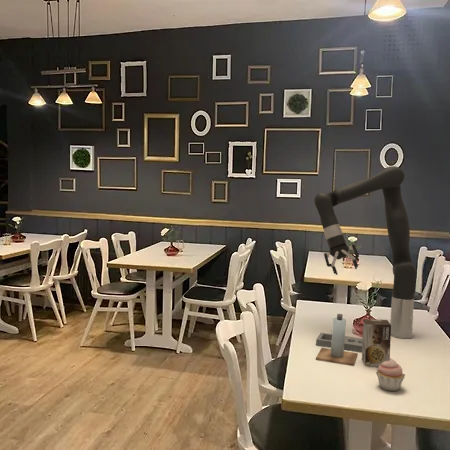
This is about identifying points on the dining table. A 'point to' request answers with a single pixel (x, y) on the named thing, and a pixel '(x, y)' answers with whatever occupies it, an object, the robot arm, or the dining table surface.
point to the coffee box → (376, 342)
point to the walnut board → (347, 357)
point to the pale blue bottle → (338, 336)
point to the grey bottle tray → (349, 342)
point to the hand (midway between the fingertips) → (346, 271)
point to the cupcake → (390, 375)
